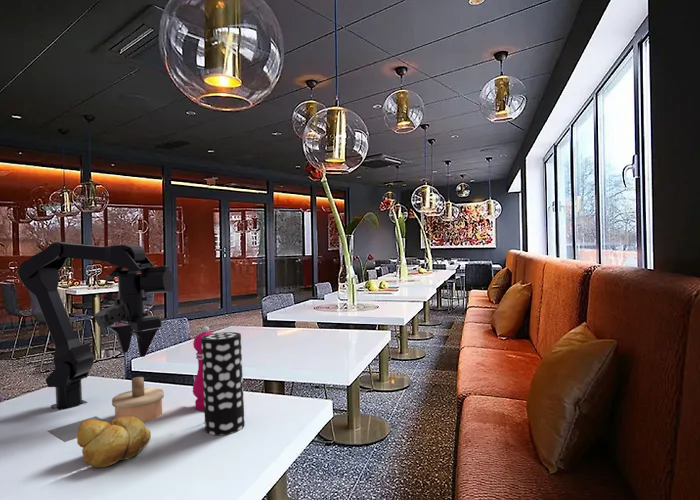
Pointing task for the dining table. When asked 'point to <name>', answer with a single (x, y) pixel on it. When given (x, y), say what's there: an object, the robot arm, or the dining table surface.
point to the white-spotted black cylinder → (223, 383)
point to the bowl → (141, 411)
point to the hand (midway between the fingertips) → (133, 354)
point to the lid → (137, 395)
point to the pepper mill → (199, 370)
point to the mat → (69, 430)
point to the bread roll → (111, 440)
